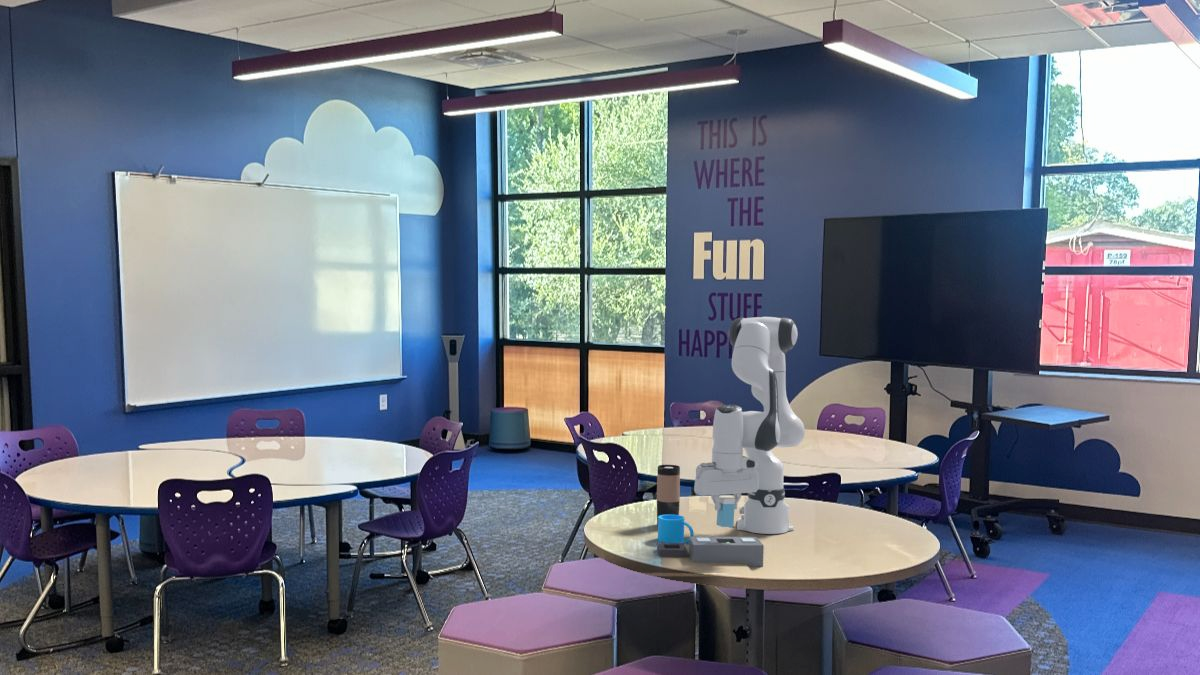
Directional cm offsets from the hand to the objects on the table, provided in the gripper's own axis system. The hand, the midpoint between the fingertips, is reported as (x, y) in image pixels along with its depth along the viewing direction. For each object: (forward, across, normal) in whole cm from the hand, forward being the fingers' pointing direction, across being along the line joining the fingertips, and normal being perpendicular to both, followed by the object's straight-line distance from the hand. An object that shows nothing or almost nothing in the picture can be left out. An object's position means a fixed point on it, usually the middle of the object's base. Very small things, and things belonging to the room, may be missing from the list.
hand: (725, 509), depth 279 cm
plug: (+5, 0, 0) cm, 5 cm away
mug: (+15, -2, +23) cm, 28 cm away
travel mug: (+15, +8, +46) cm, 49 cm away
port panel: (+15, 0, 0) cm, 15 cm away
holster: (+15, -11, +11) cm, 22 cm away
